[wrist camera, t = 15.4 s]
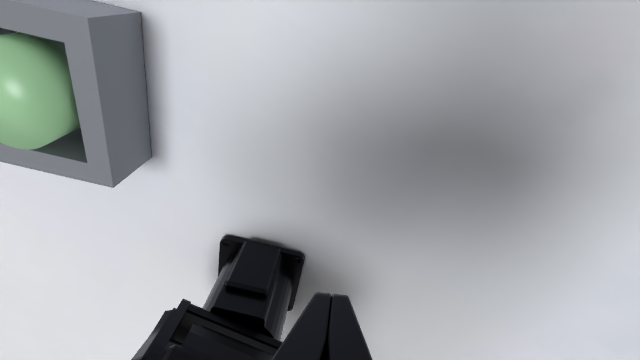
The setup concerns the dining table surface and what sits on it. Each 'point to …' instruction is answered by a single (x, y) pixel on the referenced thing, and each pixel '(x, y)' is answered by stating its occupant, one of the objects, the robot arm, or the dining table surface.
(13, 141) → the button
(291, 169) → the dining table surface
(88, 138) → the button box
